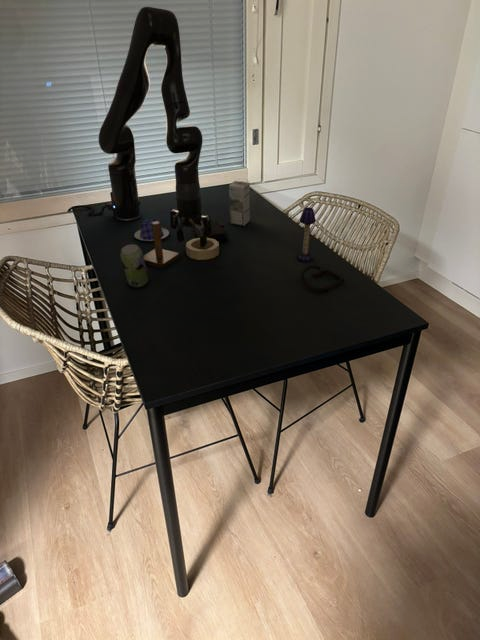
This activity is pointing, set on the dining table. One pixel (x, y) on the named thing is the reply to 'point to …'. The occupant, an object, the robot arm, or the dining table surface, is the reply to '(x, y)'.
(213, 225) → the carrying case
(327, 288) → the metal loop
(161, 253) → the peg stand
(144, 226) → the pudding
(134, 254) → the beverage can
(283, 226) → the dining table surface
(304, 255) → the purple spotted mushroom
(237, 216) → the syrup box
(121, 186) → the robot arm
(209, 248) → the tape roll
